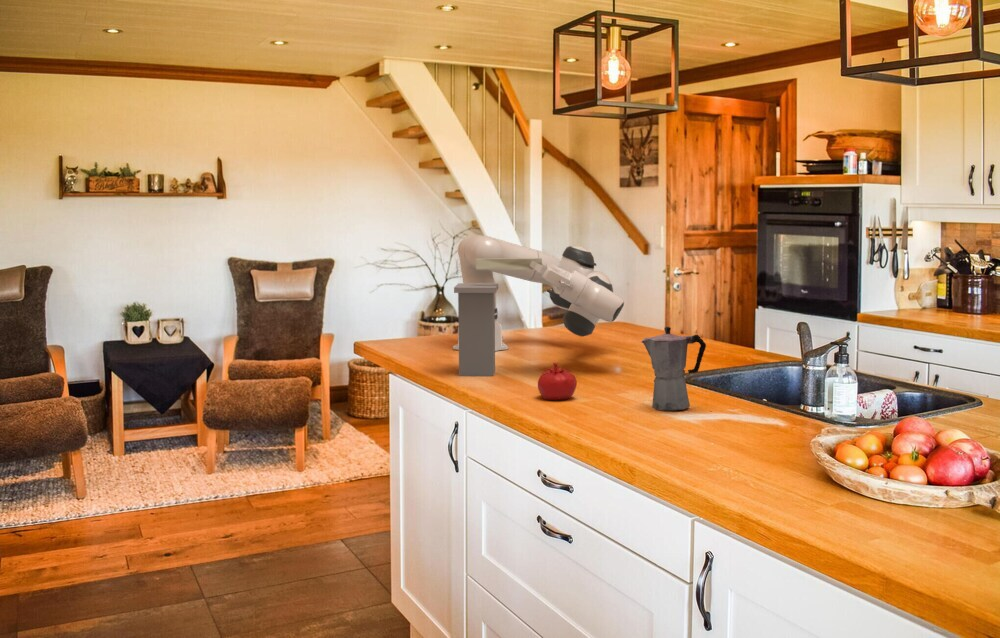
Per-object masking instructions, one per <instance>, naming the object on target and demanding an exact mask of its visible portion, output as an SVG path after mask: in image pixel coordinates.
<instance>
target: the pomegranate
mask: <svg viewBox="0 0 1000 638" xmlns="http://www.w3.org/2000/svg"><path fill="white" fill-rule="evenodd" d="M553 367H554V368H552V367H549V368H546V369H544V371H545V372H542V374H541V375H540V376H539V378H538V381H537V389H538V393H539V394H540V396H541V397H542V398H543V399H545V400H547V401H560V400H561V401H562V400H569V399H570V398H572V396H573V395H574V393H575V392H576V390H577V384H578V379H577V378H576V376H575V375H574V374H573V373H571V369H568V368H563V367H562V366H561V367H559V368H558V362H553ZM567 370H568V371H567Z"/></svg>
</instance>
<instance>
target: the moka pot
mask: <svg viewBox="0 0 1000 638" xmlns="http://www.w3.org/2000/svg"><path fill="white" fill-rule="evenodd" d="M671 330H672V328H671V327H670V326H666V327H664V332H665V333H663V334H660V335H655V336H651V337H645V338H644V339H642V340H641V341H640V342H641V343H642V344H643V345H644V347H645V349H646V351H647V353H648V356H649V358H650V360H651V366H652V369H653V370H654V373H653V374H654V377H655V378H654V379H653V383H654V384H653V393H652V394H653V395H652V408H653V409H654V408H655V410H658V411H667V412H668V411H669V412H670V411H672V412H673V411H681V410H687V409H688V408H689V407H690V406H691V405H690V399H689V395H688V389H687V383H686V377H685V374H686V370H685V369H686V366H687V356H688V345H689V344H690V345H691V344H694V343H695V344H696V343H699V345H700V346H699V350H698V353H697V357H696V362H695V365H694V368H691V369H688V370H687V373H688V374H689V375H690V374H695V373H698V372H699V369H700V366H701V363H702V360H703V356H704V353H705V351H706V348H707V343H706V342H705V341H704V340H703V338H701V336H700V335H699V334H694V335H683V336H682V335H678V334H674V333H671Z"/></svg>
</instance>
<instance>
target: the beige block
mask: <svg viewBox="0 0 1000 638" xmlns="http://www.w3.org/2000/svg"><path fill="white" fill-rule="evenodd" d="M531 261H535V262H536V263H538V264H540V265H542V258H484V259H476V270H527V269H534V268H532V267H530V263H531Z"/></svg>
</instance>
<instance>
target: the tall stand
mask: <svg viewBox="0 0 1000 638" xmlns="http://www.w3.org/2000/svg"><path fill="white" fill-rule="evenodd" d="M498 290H499V283H497V282H495V283H463V282H459V283H457V284H456V285H455V286H454V287H453V293H454V294H457V300H458V301H457V303H458V304H457V305H458V308H457V309H458V310H457V311H458V318H457V319H458V320H457V321H458V326H459V350H458V376H459V377H494V375H495V371H496V351H495V293H496V294H497V291H498Z"/></svg>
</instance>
